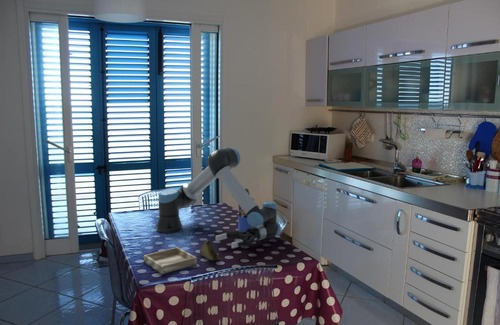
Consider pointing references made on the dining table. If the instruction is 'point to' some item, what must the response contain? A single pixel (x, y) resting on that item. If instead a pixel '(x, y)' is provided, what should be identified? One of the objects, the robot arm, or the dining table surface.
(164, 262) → the box
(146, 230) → the dining table surface
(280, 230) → the robot arm
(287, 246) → the dining table surface
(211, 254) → the rock
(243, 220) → the blue plastic bottle
